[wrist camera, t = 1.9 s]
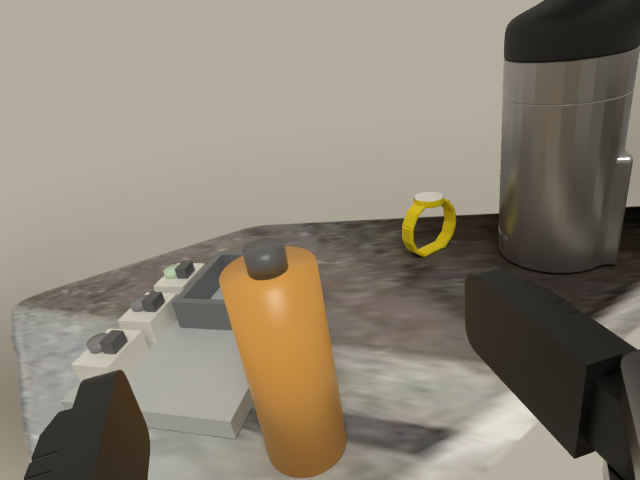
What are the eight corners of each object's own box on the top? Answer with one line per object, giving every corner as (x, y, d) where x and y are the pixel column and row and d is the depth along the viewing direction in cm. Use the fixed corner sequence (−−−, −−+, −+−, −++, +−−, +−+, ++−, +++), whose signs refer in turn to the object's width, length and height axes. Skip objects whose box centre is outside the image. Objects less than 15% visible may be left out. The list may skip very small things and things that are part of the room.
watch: (440, 239, 48) (442, 185, 46) (461, 247, 46) (463, 191, 44) (397, 255, 46) (396, 199, 43) (416, 265, 44) (416, 206, 41)
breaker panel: (311, 288, 43) (303, 245, 41) (235, 439, 28) (218, 384, 26) (190, 285, 47) (177, 246, 45) (69, 416, 32) (43, 368, 30)
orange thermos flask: (353, 413, 29) (324, 224, 23) (336, 483, 25) (295, 274, 19) (282, 406, 30) (238, 226, 24) (255, 471, 26) (194, 273, 20)
